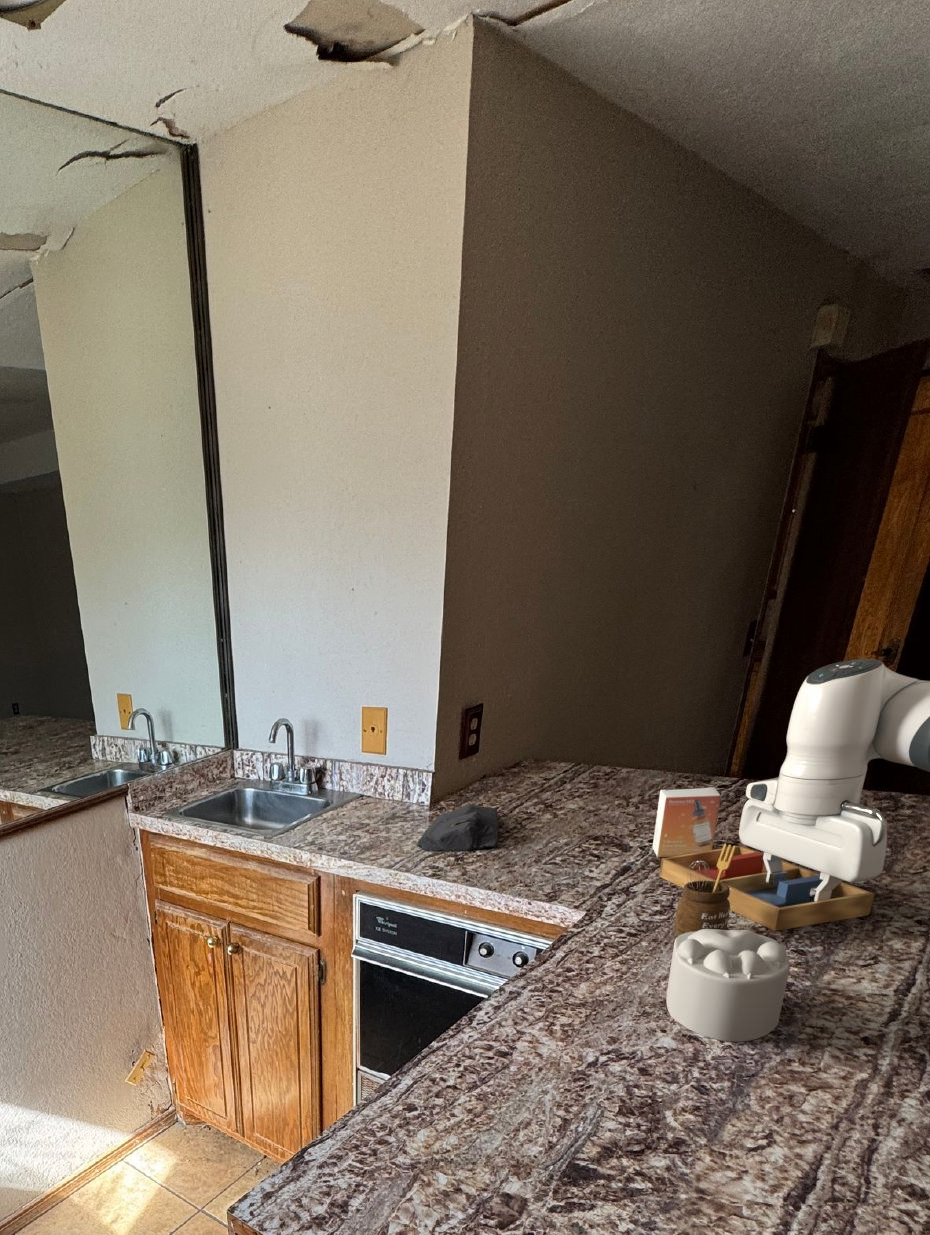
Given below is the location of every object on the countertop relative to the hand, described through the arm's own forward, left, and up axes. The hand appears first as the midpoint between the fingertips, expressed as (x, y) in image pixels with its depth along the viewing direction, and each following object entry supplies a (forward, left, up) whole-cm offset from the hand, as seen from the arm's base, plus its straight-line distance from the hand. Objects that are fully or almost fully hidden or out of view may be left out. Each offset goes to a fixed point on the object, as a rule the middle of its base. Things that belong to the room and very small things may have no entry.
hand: (796, 892), depth 108 cm
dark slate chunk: (+24, -55, -2) cm, 60 cm away
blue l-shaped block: (+1, 0, -1) cm, 2 cm away
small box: (-2, -26, -2) cm, 27 cm away
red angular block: (+1, -12, -1) cm, 12 cm away
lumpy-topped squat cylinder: (+27, +23, -2) cm, 35 cm away
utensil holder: (+16, +4, -2) cm, 17 cm away
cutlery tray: (+1, -6, -2) cm, 6 cm away
